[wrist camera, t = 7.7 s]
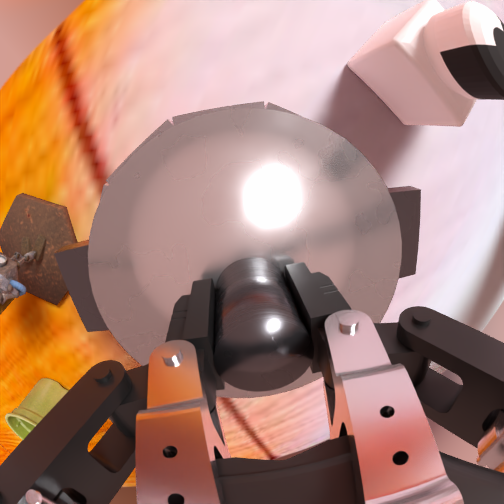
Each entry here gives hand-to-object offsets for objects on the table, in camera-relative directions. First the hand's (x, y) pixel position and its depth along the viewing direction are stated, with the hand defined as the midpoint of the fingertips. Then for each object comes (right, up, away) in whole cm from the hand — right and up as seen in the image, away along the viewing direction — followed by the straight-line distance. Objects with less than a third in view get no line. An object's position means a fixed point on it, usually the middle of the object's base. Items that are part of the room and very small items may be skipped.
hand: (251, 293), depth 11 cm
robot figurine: (-19, +2, +9) cm, 21 cm away
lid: (0, 0, +1) cm, 1 cm away
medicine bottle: (+12, +17, +7) cm, 22 cm away
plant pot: (-26, -17, +16) cm, 35 cm away
